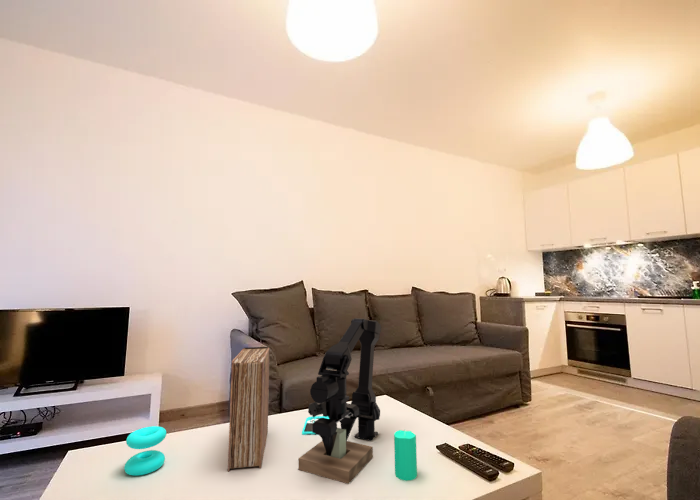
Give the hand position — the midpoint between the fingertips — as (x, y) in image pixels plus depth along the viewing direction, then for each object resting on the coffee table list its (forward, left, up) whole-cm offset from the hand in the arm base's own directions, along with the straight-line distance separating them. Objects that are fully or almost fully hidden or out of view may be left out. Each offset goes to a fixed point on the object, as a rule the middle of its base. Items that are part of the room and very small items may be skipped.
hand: (337, 448), depth 99 cm
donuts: (+27, -48, -4) cm, 55 cm away
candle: (-3, +20, -4) cm, 21 cm away
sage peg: (0, 0, -4) cm, 4 cm away
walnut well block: (0, 0, -4) cm, 4 cm away
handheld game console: (-21, -20, -5) cm, 29 cm away
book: (+5, -29, -4) cm, 30 cm away
